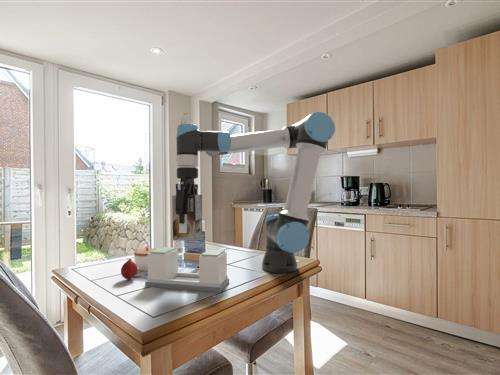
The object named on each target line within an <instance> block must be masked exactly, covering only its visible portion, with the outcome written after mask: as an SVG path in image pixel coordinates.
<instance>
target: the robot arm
mask: <svg viewBox="0 0 500 375" xmlns="http://www.w3.org/2000/svg"><path fill="white" fill-rule="evenodd" d="M335 131H336V125H335V122H334V120H333V118H332V117H331V116H330V115H329V114H328V113H326V112H322V111H315V112H312V113H310V114H308V115H307V116H306V117H304V118H303V119H301V120H300V121H298V122H296V123H295V124H291V125H285V126H283V127H282V128H279V129H273V130H272V129H271V130H264V131H254V132H247V133H240V134H231V133H230V132H229V131H222V130H220V131H218V130H199V126H198V125H197V124H194V123H187V122H186V123H180V124H179V125H178V126H177V127H176V137H175V138H176V159H175V161H176V167H177V168H176V178H177V179H180V180H179V183H175V195H176V208H175V212H176V214H179V233H187V214H186V208H187V195H199V194H198V193H199V192H198V190H199V184H197V183H195V179H198V178H199V169H198V167H199V152H205V154H207V156H209V157H213V158H214V157H215V158H216V157H218V156H222V155H224V156H225V155H229V154H238V153H245V152H252V151H259V150H260V151H261V150H267V149H268V150H270V149H277V148H284V149H286V150H287V149H297V150H298V151H297V154H296V159H295V163H294V167H293V171H292V176H291V179H290V180H291V181H290V184H289V188H288V192H287V196H286V201H285V202H284V203H285V204H284V208H283V209H282V210H281V211H279V213H278V214H271V215H269V214H268V215H266V217H265V223H264V224H265V253H264V256H263V259H262V261H261V269H262V270H263V271H265V272H268V273H274V274H275V273H276V274H285V273H286V274H288V273H293V272H295V271H297V270H298V262H297V259H296V256H295V254H297V253H298V252H301V251H302V250H304V249H305V248H306V247H307V245H308V243H309V240H310V231H309V229H308V225H309V220H310V219H309V217H308V216H307V211H308V208H309V203H310V199H311V194H312V190H313V188H314V187H313V186H314V182H315V179H316V174H317V170H318V166H319V162H320V157H321V155H322V154H323V153H325V152H326V149H327V146H328V141H330V140H331V139H332V138H333V136H334V134H335V133H336V132H335Z"/></svg>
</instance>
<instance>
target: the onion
mask: <svg viewBox="0 0 500 375" xmlns="http://www.w3.org/2000/svg"><path fill="white" fill-rule="evenodd" d="M132 260H133V259H132V258H129V259H127V261H126V262H124V263H123V265H121V268H120V274H121V277H122V278H124V279H126V280H128V281H131V280H132V279H133V278H134V277H135V276H136V275H137V273H138V270H139V268H138V267H137V265H136V264H135V261H132Z"/></svg>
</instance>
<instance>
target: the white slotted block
mask: <svg viewBox="0 0 500 375" xmlns="http://www.w3.org/2000/svg"><path fill="white" fill-rule="evenodd" d="M227 255H228V252H227V250H225V249H207V250H206V251H204V252H202V253H201V254H200V255H199V256H198V272H183V271H179V264H178V263H179V249H178V248H176V247H167V246H166V247H165V246H162V247H161V246H160V247H157V248H156V250H153V251H150V253H148V271H147V278H146V281H145V282H144V286H145V287H148V288H160V289H161V288H163V289H173V290H174V289H176V290H187V291H197V292H198V291H199V292H212V293H213V292H214V293H222V291H223V290H224V289H225V288H226V287H227V286H228V284H229V283H230V278H229V277H228V268H227V267H228V266H227V265H228V264H227V263H228V262H227V261H228V260H227V259H228V258H227V257H228V256H227Z"/></svg>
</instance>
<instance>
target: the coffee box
mask: <svg viewBox="0 0 500 375" xmlns="http://www.w3.org/2000/svg"><path fill="white" fill-rule="evenodd" d="M202 196H203V195H202V194H198V195H187V208H186V214H187V233H179V214H176V212H175V208H176V194H175V195H171V201H172V205H171V206H172V208H171V209H172V212H171V213H172V215H171V216H172V241H177V242H178V241H179V242H180V241H183V242H184V241H185V242H197V241H199V240H202V239H203V211H202V210H203V207H202V205H203V202H202V198H203V197H202Z"/></svg>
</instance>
